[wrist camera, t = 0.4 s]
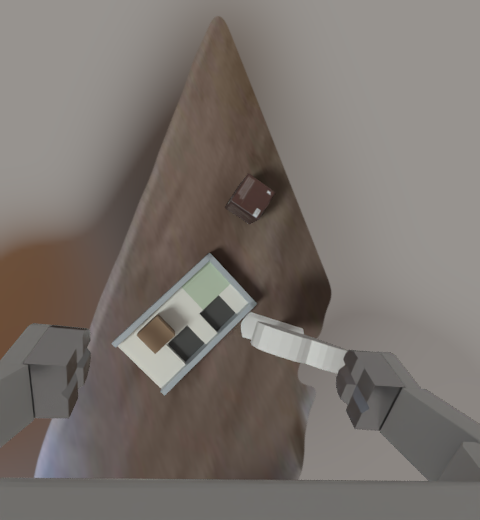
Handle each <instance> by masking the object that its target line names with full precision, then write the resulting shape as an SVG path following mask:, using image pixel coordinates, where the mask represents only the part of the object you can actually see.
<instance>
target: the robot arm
mask: <svg viewBox="0 0 480 520" xmlns="http://www.w3.org/2000/svg"><path fill="white" fill-rule="evenodd" d="M89 342H90V330H89V329H87V328H77V327H67V326H57V325H46V324H35V323H33V324H31V325H29V326H28V327H27V328H26V330H25V331H24V332H23V333H22V335H21V336H20V337H19V338H18V339H17V341H16V342H15V343H14V344H13V346H12V347H11V348H10V349H9V350H8V352H7V353H6V354H5V355H4V356H3V358H2V359H1V360H0V447H2V446H3V445H4V444H5V443H7V442H8V441H9V440H10V439H11V438H13V437H14V436H15V435H16V434H17V433H19V432H20V431H21V430H22V429H24V428H25V427H26V426H27V425H28V424H30V423H31V422H32V421H33V420H34V418H69V417H70V415H71V412H72V410H73V408H74V406H75V404H76V401H77V399H78V389H79V388H80V387H82V386H83V385H84V383H85V381H86V378H87V375H88V371H89V367H90V359H91V352H90V351H89V350H88V349H87V346H88V344H89ZM343 360H344V363H345V365H344V366H343V367H342V368H340V369H339V371H338V374H337V377H336V388H337V392H338V395H339V397H340V399H341V400H342V401H343V402H345V403H346V404H347V405H348V406H347V409H346V412H347V414H348V416H349V418H350V420H351V422H352V424H353V426H354V428H355V429H362V430H378V431H380V433H381V434H382V435H383V436H384V437H386V439H387V440H388V441H389V442H390V443H391V444H392V445H393V446H394V447H395V448H396V449H397V450H398V451H399V452H400V453H401V454H402V455H403V456H404V457H405V458H406V459H407V460H408V461H409V462H410V463H411V464H412V465H413V466H415V468H417V470H418V471H420V473H421V474H422V475H424V476H425V477H426V478H427V480H428V481H346V480H345V481H343V480H341V481H340V480H335V481H334V480H218V479H98V478H0V520H480V424H479V423H477V422H476V421H474V420H473V419H471V418H470V417H468V416H467V415H465V414H464V413H462V412H460V411H459V410H457V409H456V408H454V407H453V406H451V405H450V404H448V403H447V402H445V401H443V400H442V399H440V398H439V397H437V396H436V395H434V394H433V393H431V392H429V391H428V390H426V389H421V387H420V386H419V385H418V384H417V382H416V381H415V380H414V379H413V377H412V376H411V375H410V373H409V372H408V371H407V370H406V368H405V367H404V366H403V365H402V363H401V362H400V361H399V359H398V358H397V357H396V356H395V355H394V354H393V353H391V352H369V351H356V350H348V351H347V352H346V354H345V356H344V358H343Z"/></svg>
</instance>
